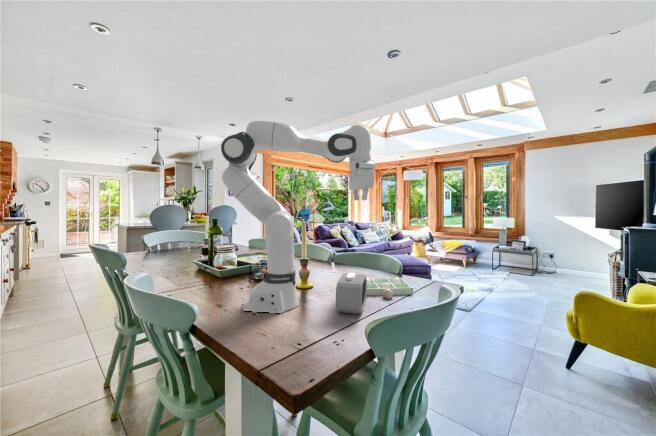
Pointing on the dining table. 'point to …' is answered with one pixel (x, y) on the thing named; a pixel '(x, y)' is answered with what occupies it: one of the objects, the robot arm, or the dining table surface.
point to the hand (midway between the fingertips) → (360, 200)
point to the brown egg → (388, 294)
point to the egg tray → (396, 288)
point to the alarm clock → (351, 293)
